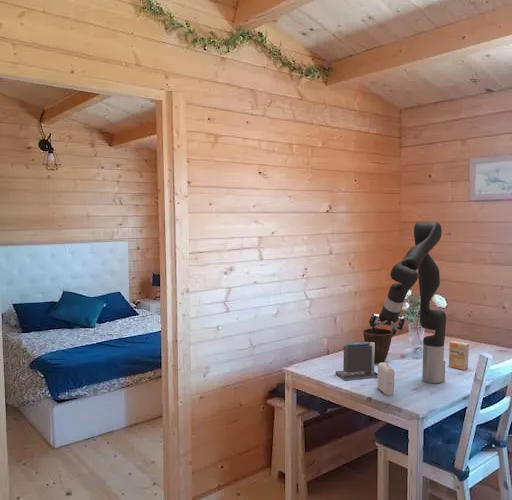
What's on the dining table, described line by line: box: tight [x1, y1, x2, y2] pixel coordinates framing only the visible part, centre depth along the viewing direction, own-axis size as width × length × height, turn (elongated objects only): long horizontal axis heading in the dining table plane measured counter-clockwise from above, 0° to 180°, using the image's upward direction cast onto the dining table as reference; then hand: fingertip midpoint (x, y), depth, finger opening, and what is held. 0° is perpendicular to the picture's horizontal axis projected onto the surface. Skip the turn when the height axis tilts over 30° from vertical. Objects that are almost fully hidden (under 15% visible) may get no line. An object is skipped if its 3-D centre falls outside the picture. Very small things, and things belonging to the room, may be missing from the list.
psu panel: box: [335, 370, 378, 382], centre depth 246 cm, size 18×11×2 cm, turn 106°
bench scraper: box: [342, 341, 375, 373], centre depth 246 cm, size 15×4×14 cm, turn 106°
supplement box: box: [448, 340, 470, 371], centre depth 258 cm, size 8×5×13 cm, turn 45°
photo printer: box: [376, 362, 395, 396], centre depth 225 cm, size 10×4×12 cm, turn 11°
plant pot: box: [362, 327, 393, 364], centre depth 269 cm, size 15×15×16 cm
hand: (382, 333), depth 226 cm, fingers open, 8 cm apart
